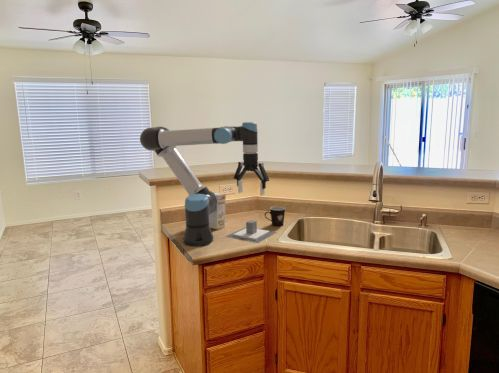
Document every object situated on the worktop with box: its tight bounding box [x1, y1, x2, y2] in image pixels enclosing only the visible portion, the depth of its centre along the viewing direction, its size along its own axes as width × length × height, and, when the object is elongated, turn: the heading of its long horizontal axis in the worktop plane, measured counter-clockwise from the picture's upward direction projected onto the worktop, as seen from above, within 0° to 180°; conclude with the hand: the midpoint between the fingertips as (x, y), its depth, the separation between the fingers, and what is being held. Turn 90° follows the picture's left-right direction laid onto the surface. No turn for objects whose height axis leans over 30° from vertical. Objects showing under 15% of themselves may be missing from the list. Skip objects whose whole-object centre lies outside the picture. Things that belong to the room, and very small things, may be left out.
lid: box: [233, 219, 271, 240], centre depth 194 cm, size 14×14×7 cm
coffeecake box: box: [209, 191, 226, 231], centre depth 209 cm, size 15×7×20 cm, turn 50°
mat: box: [225, 226, 278, 244], centre depth 194 cm, size 20×20×1 cm
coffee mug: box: [264, 206, 286, 227], centre depth 210 cm, size 12×9×10 cm
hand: (251, 193), depth 190 cm, fingers open, 13 cm apart
